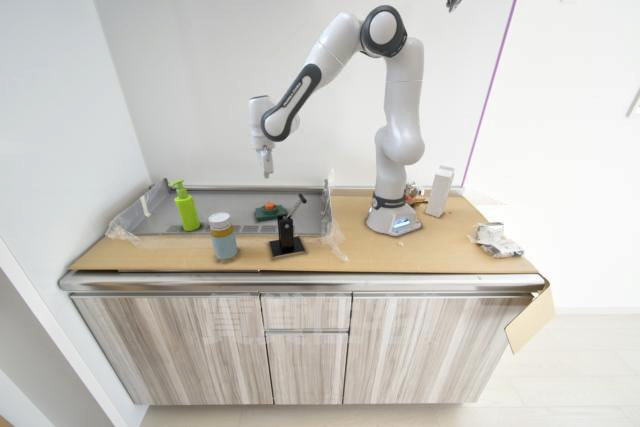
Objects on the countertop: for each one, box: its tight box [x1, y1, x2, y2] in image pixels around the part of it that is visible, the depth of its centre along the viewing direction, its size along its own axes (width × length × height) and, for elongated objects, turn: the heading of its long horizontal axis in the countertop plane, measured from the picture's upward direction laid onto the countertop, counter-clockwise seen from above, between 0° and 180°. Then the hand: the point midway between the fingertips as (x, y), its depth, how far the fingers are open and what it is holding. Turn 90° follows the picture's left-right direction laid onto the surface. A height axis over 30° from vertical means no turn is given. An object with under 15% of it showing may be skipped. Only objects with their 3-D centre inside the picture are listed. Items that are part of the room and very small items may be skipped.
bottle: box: [208, 212, 239, 261], centre depth 78 cm, size 7×7×15 cm
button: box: [264, 202, 275, 210], centre depth 104 cm, size 4×4×2 cm
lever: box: [281, 192, 308, 220], centre depth 79 cm, size 12×5×2 cm
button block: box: [254, 203, 286, 223], centre depth 106 cm, size 12×9×4 cm
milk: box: [425, 165, 455, 218], centre depth 105 cm, size 6×6×22 cm
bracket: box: [268, 212, 306, 257], centre depth 83 cm, size 11×9×13 cm
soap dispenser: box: [167, 179, 201, 232], centre depth 92 cm, size 6×7×20 cm
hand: (266, 177), depth 98 cm, fingers closed
